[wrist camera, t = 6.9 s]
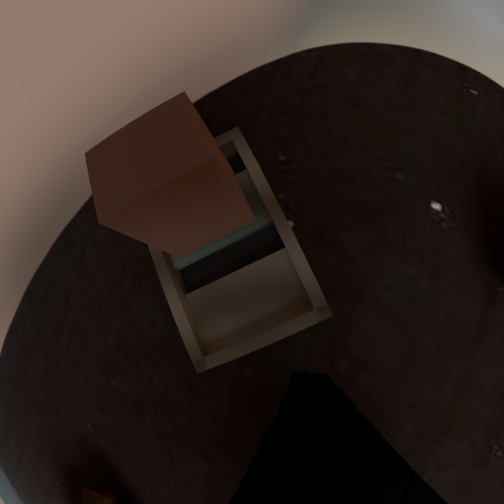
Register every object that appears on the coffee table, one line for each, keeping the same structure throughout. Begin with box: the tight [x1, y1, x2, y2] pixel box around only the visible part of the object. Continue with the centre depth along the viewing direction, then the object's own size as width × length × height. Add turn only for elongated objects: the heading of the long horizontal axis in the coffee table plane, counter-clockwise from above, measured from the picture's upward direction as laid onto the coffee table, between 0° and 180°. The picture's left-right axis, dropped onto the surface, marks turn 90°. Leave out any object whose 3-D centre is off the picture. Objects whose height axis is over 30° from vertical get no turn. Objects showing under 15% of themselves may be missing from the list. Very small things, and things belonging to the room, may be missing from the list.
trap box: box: [148, 127, 333, 373], centre depth 21 cm, size 14×9×2 cm, turn 24°
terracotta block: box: [85, 92, 257, 258], centre depth 17 cm, size 4×6×9 cm
